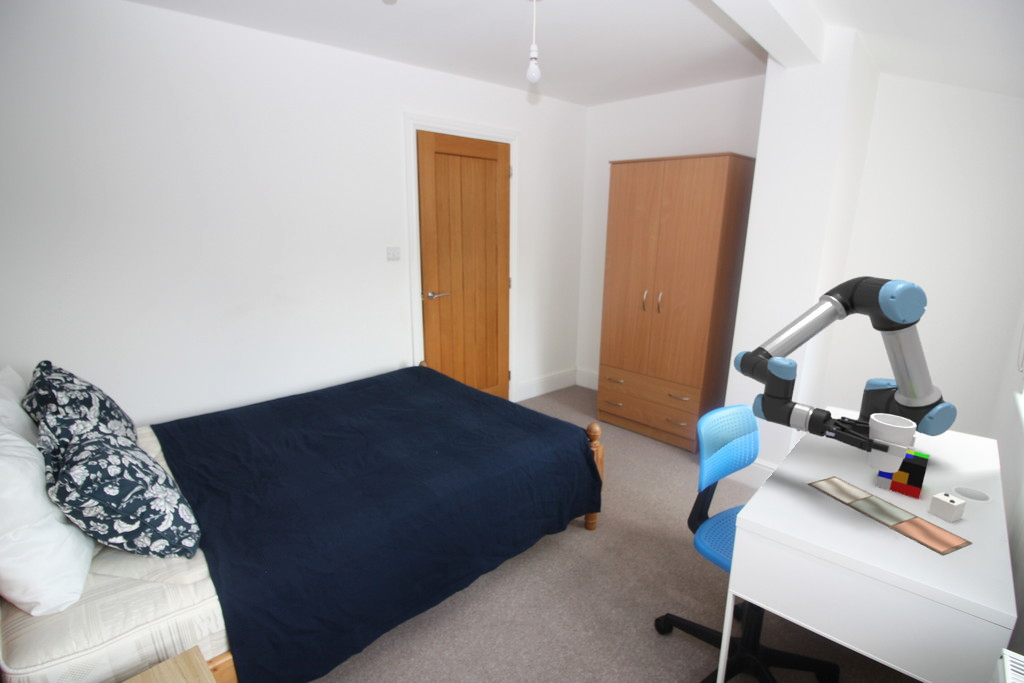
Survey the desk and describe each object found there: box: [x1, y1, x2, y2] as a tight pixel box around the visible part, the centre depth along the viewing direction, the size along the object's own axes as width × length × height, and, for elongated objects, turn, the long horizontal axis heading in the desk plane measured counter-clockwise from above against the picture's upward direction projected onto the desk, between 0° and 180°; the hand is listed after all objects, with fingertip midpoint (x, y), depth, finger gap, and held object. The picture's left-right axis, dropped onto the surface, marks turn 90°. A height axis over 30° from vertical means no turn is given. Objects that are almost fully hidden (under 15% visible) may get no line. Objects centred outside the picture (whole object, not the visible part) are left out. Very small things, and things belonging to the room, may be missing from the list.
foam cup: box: [867, 413, 917, 473], centre depth 127 cm, size 10×9×13 cm
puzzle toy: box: [875, 449, 930, 500], centre depth 143 cm, size 10×10×10 cm
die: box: [928, 491, 967, 523], centre depth 129 cm, size 5×5×6 cm
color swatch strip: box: [807, 476, 973, 556], centre depth 131 cm, size 12×34×1 cm, turn 23°
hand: (910, 447), depth 124 cm, fingers closed on foam cup, 9 cm apart
